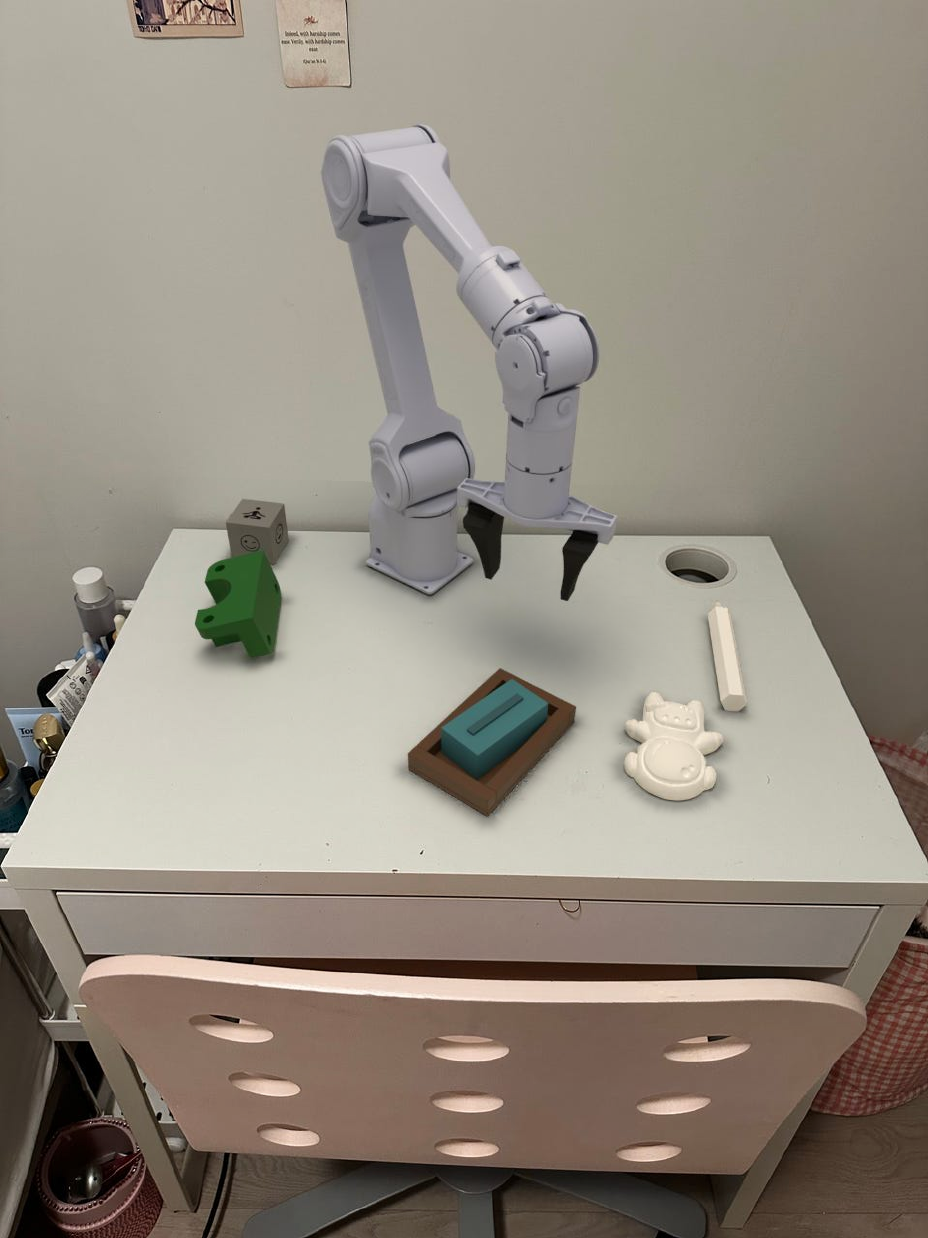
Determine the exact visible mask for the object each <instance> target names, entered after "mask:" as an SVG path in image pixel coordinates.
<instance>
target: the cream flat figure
mask: <svg viewBox="0 0 928 1238" xmlns="http://www.w3.org/2000/svg"><path fill="white" fill-rule="evenodd" d="M705 715H706V714H705V709H704V706H703V704H702V702H701V701H700V700H697V699H693V700H690V701H689V702H688V703H687V704H683V703H679V702H674V701H666V700H665V699H664V698H663V697H662V696H661V694H659V693H658V692H657V691H652V692H650V693H648V694H647V696H646V698H645V699H644V703H643V708H642V716H641V717H642V718H641V720H639V721H638V720H637V719H635V718H632V719H628V720H626V722H625V723H624V728H625V732H626V734H627V736H629V738H632V739H633V740H635V741H637V742H639V743H641V744H639V746H638V747H637V748H636V752H634V751H631V752H628V753H627V754H626V756H625V757H624V760H623V768H624V771H625V773H626V774H627V775H628V776H629V777H631V778H633V779H634V780H635V782H636V784H638V785H639V786H640V787H641V788H642V789H643V790H645V791H646V792H647V793H649V794H651V795H653V796H656V797H658V798H660V799H663V800H668V801H669V800H670V801H687V800H691V799H694V798H695V797H698V796H699V795H701V794H702V793H703V791H708V790H710V789H712V788H713V787H714V785H715V784H716V782H717V772H716V770H715V768H714V767H713V766H712V765H708V766H707V759H706V757H705V755H708V754H712V753H714V752H715V751H716V750H718V749H719V747H720V746H721V745H722V744H723V743H724V736H723V735H722V734H721V733H719V732H716V731H709V730H708V731H706V730H705V719H706V718H705Z"/></svg>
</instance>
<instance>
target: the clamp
mask: <svg viewBox="0 0 928 1238" xmlns="http://www.w3.org/2000/svg"><path fill="white" fill-rule="evenodd" d="M204 584H205V586H206V588H207V590H208V592H209V593H210V595H211V597H212V599H213V601H214V603H215V605H212V606H210V607H207V608H202V609H197V612H196V617H195V620H194V627H195V628H196V630H197V631H198V633H199V636H200V638H202V639H204V640H211V642H212V643H213V645H214V646H215V648H218V647H224V646H226V645H231V644H236V643H240V642H241V644H242V646H243V647H244V649H245V651H246V654H247V655H248V657H249V658H250V659H256V658H260V657H264V656H269V655H274V653H275V650H276V649H275V648H276V642H277V634H278V627H279V626H278V625H279V618H280V610H281V604H282V603H281V602H282V590H281V587H280V583H279V580H278V578H277V576H276V574H275V572H274V569H273V568H272V564H270V563H269V561H268V559H267V557H266V555H265V552H264V550H262V551H258V552H253V553H249V554H245V555H241V556H237V557H233V558H232V557H229V558H225V559H221V560H218V561H216V562H214V563H212V564H211V565H210V566H209V567H208V568H207V570H206V575H205V578H204Z"/></svg>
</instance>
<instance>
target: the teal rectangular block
mask: <svg viewBox="0 0 928 1238" xmlns="http://www.w3.org/2000/svg"><path fill="white" fill-rule="evenodd" d="M547 712H548V703H547V702H546V701H544V700H543V699H541V698H540V697H538V696H537V695H535V694H534V693H532V692H531V691H529V690H528V689H526V688H525V687H523V686H522V685H520V684H519V683H517V682H516V681H514V680H513V679H511V680H509V681H508V682H506V683H505V684H504V685H502V686H501V687H499V688H498V689H496V690H495V691H493V692H492V693H491V694H489V695H488V696H486V697H485V698H483V699H482V700H480V701H479V702H478V703H476V704H475V705H473V706H472V707H470V708H469V709H467V710H466V711H465V712H463V713H462V714H460V715H459V716H457V717H456V718H454V719H453V720H452V721H450V722H449V723H447V724H446V725H444V726H443V727H442V728H441V753H442V754H444V755H445V756H446V757H448V758H449V759H450V760H451V761H453V762H454V763H455V764H457V765H458V766H459V767H460V768H462V769H463V770H464V771H466V772H467V773H468V774H469V775H471V776H472V777H473V778H475V779H476V780H478V779H479V778H481V777H482V776H483V775H485V774H486V773H487V772H489V771H490V770H491V769H493V768H494V767H495V766H496V765H498V764H499V763H500V762H502V761H503V760H504V759H506V758H507V757H508V756H510V755H511V754H512V753H514V752H515V751H516V750H518V749H519V748H520V747H522V746H523V745H524V744H525V743H526V742H527V741H528V740H529V739H530V738H531V737H532V736H533V735H534V734H535V733H536V732H537V731H538V729H539V728H540V727H541V726H542V725H543V724H544V723H545V722H546V721H547Z"/></svg>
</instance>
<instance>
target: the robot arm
mask: <svg viewBox="0 0 928 1238" xmlns="http://www.w3.org/2000/svg"><path fill="white" fill-rule="evenodd" d="M320 175H321V176H320V177H321V181H322V186H323V191H324V194H325V195H324V196H325V198H326V202H327V207H328V210H329V215H330V219H331V223H332V226H333V230H334V233H335V237H336V238H337V240H340V241H343V242H344V243H347V246H348V247H347V248H348V251H349V255H350V259H351V263H352V264H351V265H352V267H353V273H354V277H355V282H356V285H357V289H358V293H359V298H360V302H361V306H362V307H361V308H362V310H363V315H364V319H365V323H366V327H367V328H366V329H367V332H368V336H369V341H370V345H371V349H372V353H373V358H374V362H375V367H376V371H377V375H378V378H379V383H380V388H381V392H382V396H383V400H384V404H385V409H386V413H387V415H386V416H385V419H384V420H383V421H382V422H381V424H380V425H379V427H378V428H377V429H376V430H375V431H374V433H373V434H372V435H371V437H370V439H369V440H368V446H369V453H370V461H371V467H370V476H371V481H372V486H373V488H374V491H375V494H374V496H373V497H372V500H371V502H370V505H369V510H368V530H369V547H370V557H369V558H367V559H366V560H365V561H366V562H365V563H366V566H368V567H371V568H372V569H375V570H376V571H378V572H380V573H382V574H385V575H387V576H389V577H391V578H393V579H395V580H397V581H399V582H402V583H403V584H405V585H408V586H410V587H412V588H414V589H416V590H417V591H420V592H422V593H424V594H426V595H433V594H435V593H436V592H437V591H439V590H440V589H441V588H442V587H444V586H445V585H446V584H447V583H449V582H450V581H452V579H454V578H455V577H456V576H458V575H459V574H460V573H462V572H463V571H464V570H465V569H467V568H468V567H469V566H470V565H472V564H473V563H474V562H473V558H472V557H471V556H468V555H466V554H464V553H462V552H460V551H458V507H461V508H464V509H465V508H467V510H466V514H465V515H464V516H463V518H462V527H463V529H464V530H465V531H466V533H467V534H468V536H469V537H470V539H471V541H472V542H473V543H474V547H475V549H476V550H477V554H478V556H479V559H480V563H481V566H482V570H483V574H484V578H485V579H487V580H490V581H492V580H493V578H494V577H495V576H496V574H497V573H498V572H499V569H500V567H501V560H502V535H503V527H504V521H505V519H507V520H508V521H511V522H512V523H514V524H517V525H519V526H523V527H528V528H536V529H537V528H538V529H539V528H540V529H556V530H567V531H570V532H572V533H571V535H570V536H569V537H568V538H567V540H566V542H565V543H564V544H563V546H562V549H561V553H562V561H563V563H562V564H563V571H562V573H563V575H562V580H561V581H562V582H561V586H560V593H559V594H560V595H559V596H560V597H559V598H560V600H561V601H564V602H569V600H570V598H571V597H572V595H573V593H574V592H575V589H576V586H577V582H578V579H579V576H580V573H581V571H582V569H583V566H584V565H585V564H586V562H587V561H588V560H589V558H590V557H591V556H592V554H593V552H594V551H595V549H596V548H597V545H598V544H599V543H600V544H603V545H609V544H610V543H611V541H612V539H613V538H614V536H615V534H616V529H617V521H618V515H616V514H613V513H609V512H606V511H603V510H602V509H599V508H597V507H595V506H593V505H591V504H590V503H587V502H586V501H585V502H584V501H583V500H581V499H580V498H577V497H575V496H573V495H571V494H570V487H571V477H572V468H573V460H574V450H575V442H576V441H575V440H576V431H577V423H578V422H577V421H578V412H579V404H580V392H581V386H579V385H582V384H583V383H586V382H588V381H589V380H591V379H592V378H593V376H595V374H596V372H597V370H598V367H599V362H600V346H599V341H598V337H597V335H596V332H595V330H594V328H593V327H592V325H591V324H590V322H589V319H588V318H587V316H586V315H585V314H584V313H582V311H579V310H576V309H572V308H566V307H565V306H564V305H563V304H562V303H559V302H556V303H554V302H553V301H552V300H551V299H550V297H549V296H548V295H547V293H546V292H545V291H544V289H543V288H542V287H541V285H540V284H539V283H538V281H537V280H536V279H535V278H534V276H533V274H531V272H530V271H529V270H528V268H527V267H526V266H525V265H524V263H523V262H522V259H521V258H520V257H519V255H518V254H517V253H516V252H515V250H513V249H512V248H510V247H508V246H504V245H494V246H492V245H491V243H490V241H489V240H488V238H487V237H486V235H485V233H484V232H483V229H482V228H481V227H480V226H479V224H478V222H477V221H476V218H474V216H473V214H472V213H471V211H470V210H469V208H468V206H467V205H466V203H465V201H464V200H463V199H462V197H461V195H460V194H459V192H458V191H457V189H456V187H455V185H454V184H453V183H452V181H451V164H450V156H449V151H448V149H447V148H446V146H444V145H443V143H442V142H441V140H440V138H439V136H438V135H437V133H436V132H435V130H434V129H433V128H432V127H431V126H429V125H427V124H424V123H418V124H414V125H412V126H411V127H410V126H409V127H403V128H397V129H396V128H395V129H389V130H383V131H382V130H381V131H375V132H368V133H367V132H366V133H360V134H353V135H345V134H340V135H335V136H333V137H332V138H331V139H330V140H329V141H328V144H327V145H326V150H325V152H324V156H323V161H322V166H321V170H320ZM414 226H416V227H417V228H418V230H419V231H420V232H421V233H422V234H423V235H424V236H425V237H426V239H427V240H428V241H429V242H430V243H431V244H432V245H433V247H434V248H435V249H436V250H437V251H438V252H439V253H440V254H441V256H443V258H444V259H445V260H446V261H447V262H448V263H449V265H450V266H451V267H452V268H453V269H454V270H455V271H456V272H457V274H458V275H457V280H456V287H455V291H456V295H457V297H458V299H459V300H460V302H461V303H462V304H463V305H464V307H465V308H466V310H467V311H468V312H469V313H470V315H471V317H472V319H474V321H475V322H476V324H478V326H479V327H480V329H481V330H482V332H483V333H484V334H485V336H486V337H487V338H488V340H489V341H490V342H491V344H492V345H493V346H494V348H495V349H496V350H495V351H494V361H495V369H496V372H497V375H498V378H499V380H500V382H501V383H500V384H501V387H502V388H501V389H502V404H503V406H504V407H503V408H504V411H505V412H507V428H506V429H507V430H506V448H505V468H504V481H494V480H493V481H491V480H480V479H474V478H475V473H476V459H475V455H474V451H473V449H472V447H471V445H470V444H469V442H468V439H467V437H466V435H465V432H464V429H463V424H462V420H461V419H460V418H458V417H457V416H455V415H453V413H452V414H451V413H450V412H448V411H446V410H445V409H442V408H440V407H439V406H438V404H437V403H438V402H437V399H436V394H435V389H434V385H433V381H432V375H431V371H430V366H429V361H428V357H427V352H426V347H425V343H424V337H423V333H422V328H421V324H420V320H419V315H418V310H417V305H416V301H415V296H414V292H413V287H412V282H411V276H410V273H409V268H408V263H407V258H406V254H405V250H404V243H405V240H406V239H407V237H408V235H409V232H410V229H412V228H413V227H414Z"/></svg>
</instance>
